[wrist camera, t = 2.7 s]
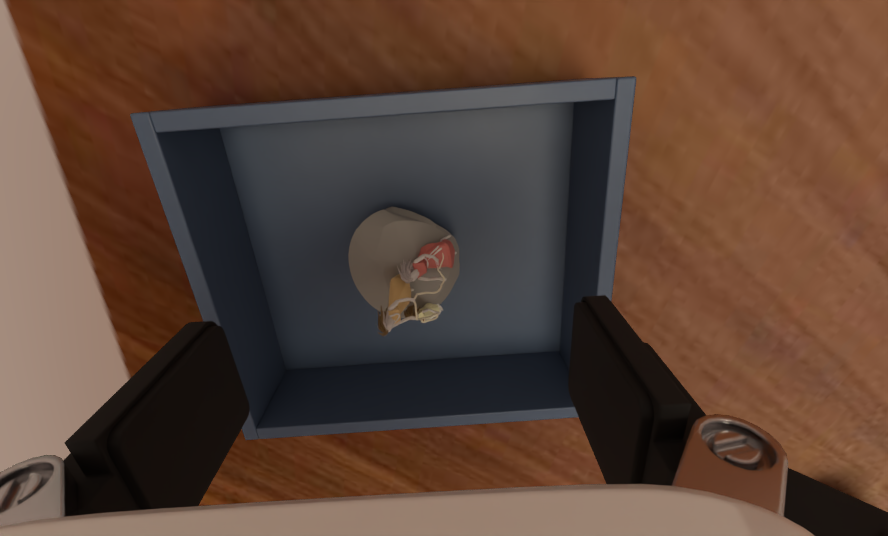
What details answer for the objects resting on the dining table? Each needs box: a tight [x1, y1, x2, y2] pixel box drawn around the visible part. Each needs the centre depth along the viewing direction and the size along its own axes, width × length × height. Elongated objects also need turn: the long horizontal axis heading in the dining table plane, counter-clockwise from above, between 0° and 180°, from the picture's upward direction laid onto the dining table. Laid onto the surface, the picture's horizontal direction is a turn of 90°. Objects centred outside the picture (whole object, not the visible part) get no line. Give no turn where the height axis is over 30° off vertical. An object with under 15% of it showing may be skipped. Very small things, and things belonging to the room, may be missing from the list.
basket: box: [130, 76, 636, 440], centre depth 17 cm, size 15×13×5 cm
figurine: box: [348, 207, 460, 336], centre depth 16 cm, size 5×4×6 cm
